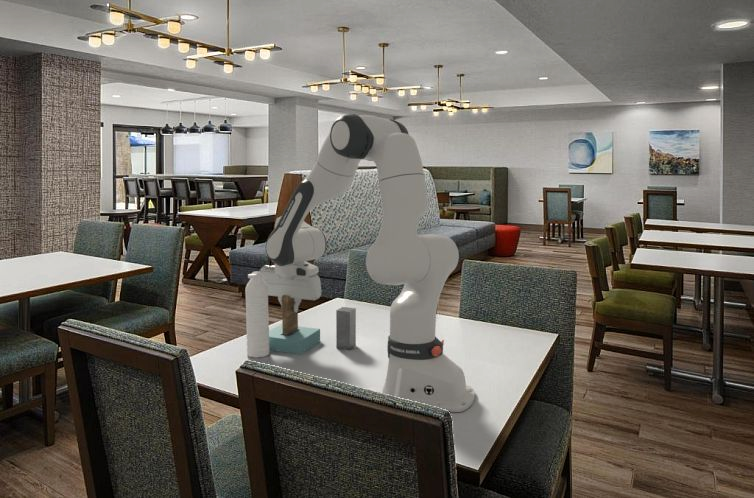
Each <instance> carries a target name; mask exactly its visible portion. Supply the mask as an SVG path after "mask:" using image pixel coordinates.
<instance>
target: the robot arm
mask: <svg viewBox="0 0 754 498" xmlns="http://www.w3.org/2000/svg"><path fill="white" fill-rule="evenodd" d="M361 160H362V161H363V160H365V161H369V162H373V163H374V164H375V166H376V170H377V178H378V179H377V180H378V185H379V192H380V194H379V195H380V200H381V202H380V203H381V209H382V213H381V214H382V216H381V217H382V218H381V224H380V228H379V229H380V230H379V232H378V235H377V238H376V239H375V241H374V242H373V244H372V245H371V246H370V247H369V249H368V251H367V254H366V257H365V266H366V267H365V268H366V271H367V273H368V276H369V277H370V278H371V279H372V281H374V282H375V283H377V284H379V285H387V286H400V285H403V287H402V290H401V292H400V294H399V295H397V297H396V298H395V299H394V300H393V301H392V303H391V305H390V310H389V313H390V314H389V335H388V338H387V346H386V347H387V349H386V350H387V359H388V365H387V370H386V378H385V382H384V386H383V388H382V394H383V393H385V394H389V395H392V396H396V397H400V398H404V399H409V400H412V401H417V402H420V403H425V404H428V405H431V406H436V407H439V408H442V409H446V410H448V411H447V412H449V411H450V412H451V413H462V412H464V411H466V410H468V409H469V408H470V407H471V406H472V405H473V403H474V401H475V399H476V395H475V392H476V391H475V389H474V388H473V387H472V386H471V385H467V384H466V382H467V381H466V376H465V373H464V371H463V369H462V368H461V367H460V366H459V365H458V364H457V363H455V362H454V361H453V360H451V359H450V358H449V357H448V356H447V355H446V354H445V353H444V345H445V343H444V342H445V341H444V340H445V339H442V340H440V339H438V337H436V325H437V323H436V321H437V309H438V304H439V301H440V300H439V299H440V297H441V293H442V291H443V289H444V285H445V283H446V281H447V279H448V278H449V276H450V275H451V274H452V272H454V271H455V270H456V268H457V266H458V263H459V257H460V255H459V253H460V252H459V249H458V246H457V245H456V243H455V241H454V240H453V239H452V238H450V237H449V236H445V235H441V234H435V233H434V234H433V233H429V234H422V235H421V234H419V235H418V228H419V222H420V220H421V218H422V217H423V216H424V215H425V214H426V213H427V212H428V210H429V205H430V203H429V198H428V190H427V185H426V184H427V183H426V179H425V171H424V165H423V162H422V161H423V160H422V158H421V153H420V151H419V148H418V145H417V142H416V141H415V139H414V137H413V136H412V135H410V134H409V131H408V129H407V128H406V126H405V125H404V124H403V123H401V122H399V121H397V120H394V119H391V118H388V119H387V118H384V117H380V116H376V115H370V114H356V113H348V114H342V115H341V116H339V117H337V118H336V119H335V120H334V121H333V123H332V125H331V127H330V131H329V133H328V134H327V136H326V137H325V140H324V141H323V144H322V145H321V147H320V150H319V153H318V156H317V157H316V161H315V163H314V165H313V167H312V168H311V170H310V172H309V173H308V175H307V176H306V177H305V178H304V179H303V180H302V181H301V182H300V183H299V184H298V185H297V186H296V188H295V190H294V191H293V193H292V195H291V196H290V199H289V200H288V203H287V204H286V206H285V208H284V210H283V212H282V215H281V216H278V217H276V219H275V224H274V229H273V230H272V231H271V232H270V234H269V235H268V238H267V239H266V242H265V253H266V256H267V257H268V258H269V260H270V261H271V262H272V263H274V265H267V264H265V265H263V266H262V267H261V268H260V269H259V272H260V274H261V278H262V279H263V280H264V282H265V283H266V284H267V287H268V297H269V296H270V297H271V296H272V297H277V301H278V302H279V304H280V306H282V296H283V295H288V296H290V298H294V301H295V302H296V303H295V305H294V306H291V309H292V310H291V311H292V312H298V313H299V306H300V304H301V302H302V300H307V301H316V300H318V299H320V297H322V296H321V295H322V284H321V283H322V282H321V278H320V276H319V275H318V273H319V270H320V269H319V267H318V266H317V265H315V264H313V263H311V262H309V261H314V260H317V259H321V258H322V257H324V255H325V253H326V250H327V246H328V245H327V237H326V236H325V235H326V234H325V233H324V232H323V231H322V230H321V229H320V228H318V227H317V228H316V227H314V226H311V225H310V224H309V223H307V222H306V221H305V219H306V217H307V215H308V214H309V213H310V212H311V211H312V210H313V209H315V208H317V206H320V205H321V204H324V203H326V202H328V201H331V200H334V199H337V198H340V197H341V196H343V195H344V194H345V193H346V192H347V191H348V190H349V188H350V187H351V185H352V183H353V180H354V177H355V175H356V172H357V171H358V167H359V164H360V161H361Z"/></svg>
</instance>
